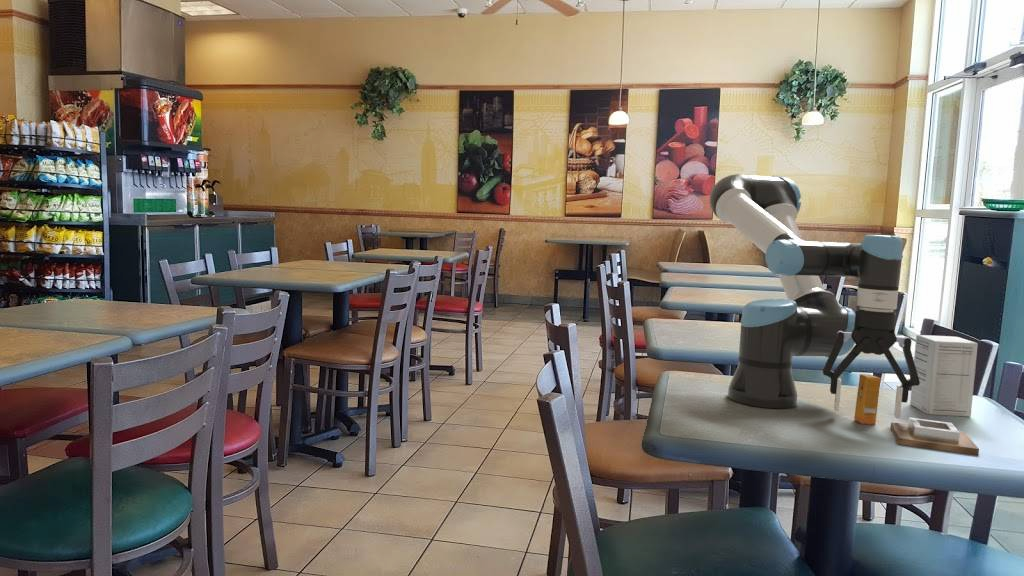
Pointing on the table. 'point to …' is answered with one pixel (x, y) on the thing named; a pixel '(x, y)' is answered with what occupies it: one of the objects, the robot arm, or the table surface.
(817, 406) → the table surface
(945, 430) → the collar
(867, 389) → the supplement box
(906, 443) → the board
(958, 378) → the supplement box
